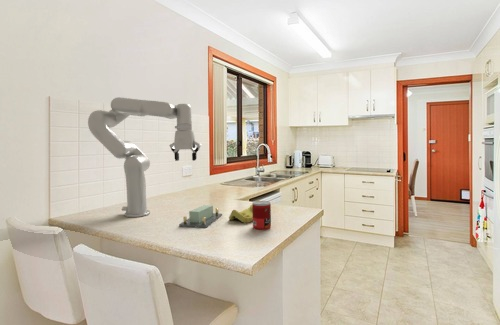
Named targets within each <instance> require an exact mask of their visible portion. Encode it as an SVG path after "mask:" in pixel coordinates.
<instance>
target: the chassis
mask: <svg viewBox="0 0 500 325" xmlns="http://www.w3.org/2000/svg"><path fill="white" fill-rule="evenodd" d="M222 216H223V213H219V208H218V207H217V208H215V212H213V216H211V217H209V218H207V219H205V217H202V222H200V223H196V222H190V218H187V216H186V215H185V216H183V222H181V223H179V224H178V226H179V227H180V228H181V227H182V228H200V229H201V228H203V229H205V228H209V226H211V225H212V224H213V223H215V222H216V221H217V220H218V219H219V218H221V217H222Z"/></svg>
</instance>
